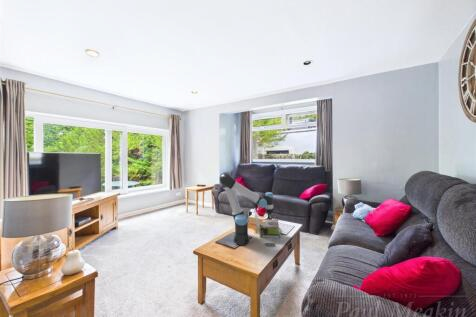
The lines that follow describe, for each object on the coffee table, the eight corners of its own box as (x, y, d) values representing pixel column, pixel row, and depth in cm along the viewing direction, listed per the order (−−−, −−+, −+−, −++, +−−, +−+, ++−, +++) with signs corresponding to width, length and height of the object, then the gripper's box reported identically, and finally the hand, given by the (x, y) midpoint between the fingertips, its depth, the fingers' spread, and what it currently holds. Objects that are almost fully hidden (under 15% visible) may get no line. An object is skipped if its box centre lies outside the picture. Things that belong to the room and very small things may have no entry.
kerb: (264, 246, 171) (264, 243, 171) (264, 245, 173) (264, 242, 173) (275, 246, 171) (275, 243, 171) (275, 245, 172) (275, 242, 172)
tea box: (277, 230, 195) (278, 219, 188) (278, 238, 186) (279, 227, 179) (262, 229, 197) (262, 218, 190) (262, 237, 188) (262, 226, 181)
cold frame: (254, 237, 189) (254, 215, 188) (254, 227, 214) (254, 208, 213) (280, 238, 187) (280, 216, 186) (277, 228, 212) (277, 208, 211)
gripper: (274, 210, 189) (274, 234, 190) (272, 206, 201) (272, 228, 203) (266, 210, 189) (266, 234, 191) (265, 206, 202) (265, 228, 203)
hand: (269, 231), depth 197 cm, fingers closed
